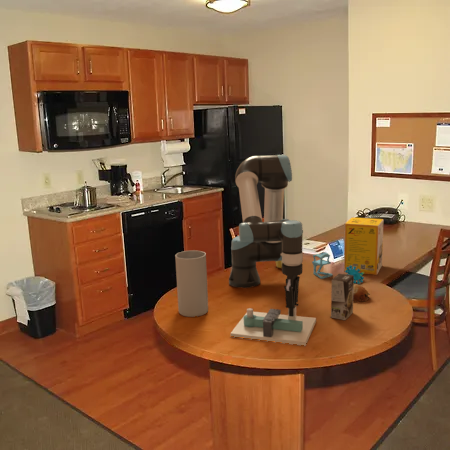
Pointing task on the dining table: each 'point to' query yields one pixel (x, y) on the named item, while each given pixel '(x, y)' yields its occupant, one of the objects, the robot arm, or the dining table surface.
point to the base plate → (276, 331)
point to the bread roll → (359, 293)
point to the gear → (355, 274)
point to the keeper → (270, 322)
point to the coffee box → (342, 296)
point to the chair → (321, 264)
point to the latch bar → (280, 324)
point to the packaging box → (363, 244)
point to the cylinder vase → (192, 283)
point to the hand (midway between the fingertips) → (292, 322)
